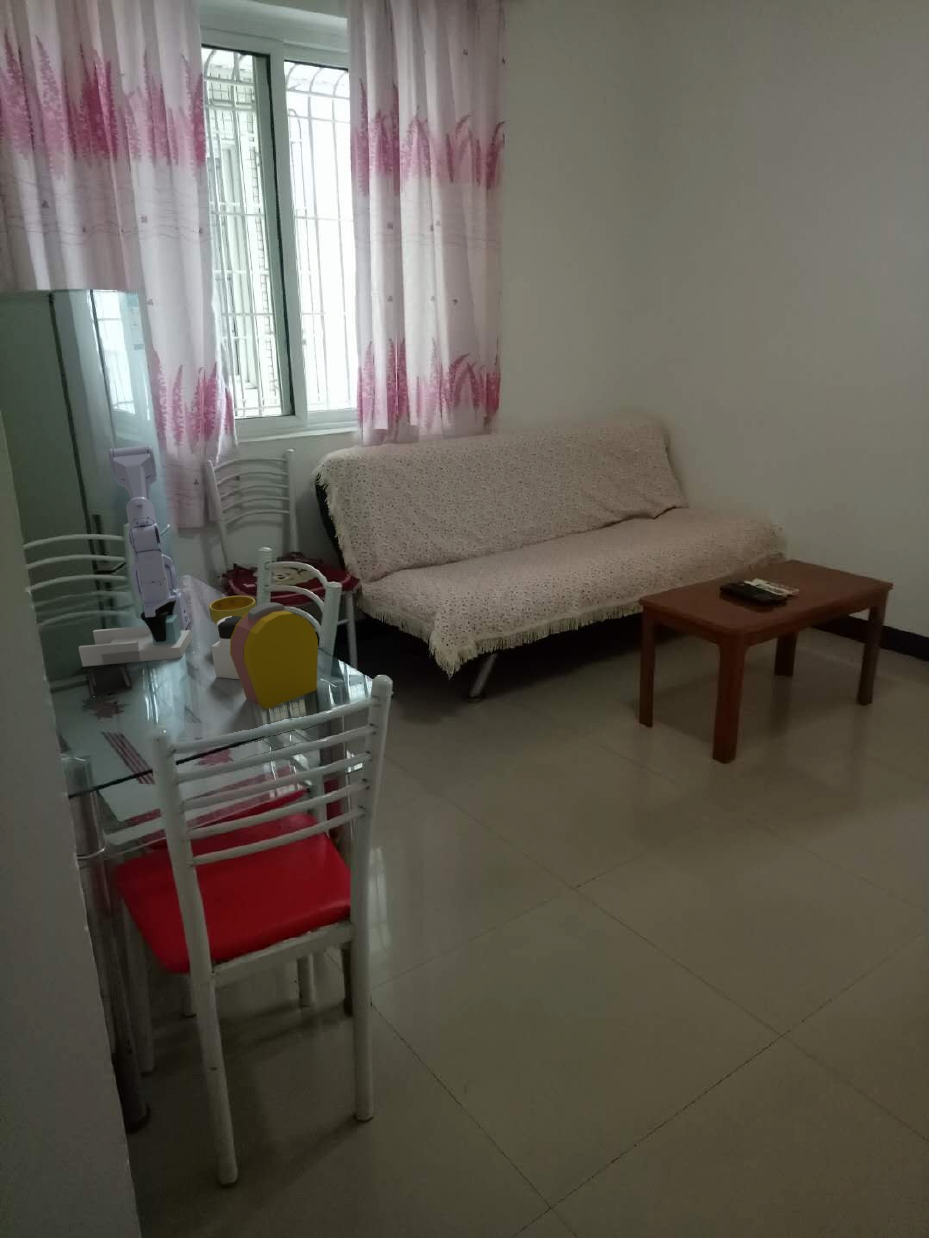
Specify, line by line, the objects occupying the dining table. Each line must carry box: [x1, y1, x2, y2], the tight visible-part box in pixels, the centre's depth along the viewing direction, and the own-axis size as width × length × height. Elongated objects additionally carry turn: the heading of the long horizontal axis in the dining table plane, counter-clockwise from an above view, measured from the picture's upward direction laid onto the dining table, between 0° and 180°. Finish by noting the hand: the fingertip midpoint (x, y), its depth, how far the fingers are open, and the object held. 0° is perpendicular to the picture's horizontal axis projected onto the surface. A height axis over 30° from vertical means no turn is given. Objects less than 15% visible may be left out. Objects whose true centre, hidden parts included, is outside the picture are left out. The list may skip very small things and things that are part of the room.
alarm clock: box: [230, 601, 319, 711], centre depth 164 cm, size 15×8×18 cm, turn 133°
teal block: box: [152, 615, 181, 645], centre depth 191 cm, size 5×5×5 cm
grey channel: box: [78, 625, 193, 668], centre depth 192 cm, size 22×11×4 cm, turn 95°
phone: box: [86, 663, 133, 698], centre depth 178 cm, size 8×1×15 cm
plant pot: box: [208, 595, 257, 628], centre depth 193 cm, size 10×10×10 cm
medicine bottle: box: [210, 616, 243, 680], centre depth 176 cm, size 7×7×12 cm
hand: (164, 636), depth 192 cm, fingers open, 5 cm apart
